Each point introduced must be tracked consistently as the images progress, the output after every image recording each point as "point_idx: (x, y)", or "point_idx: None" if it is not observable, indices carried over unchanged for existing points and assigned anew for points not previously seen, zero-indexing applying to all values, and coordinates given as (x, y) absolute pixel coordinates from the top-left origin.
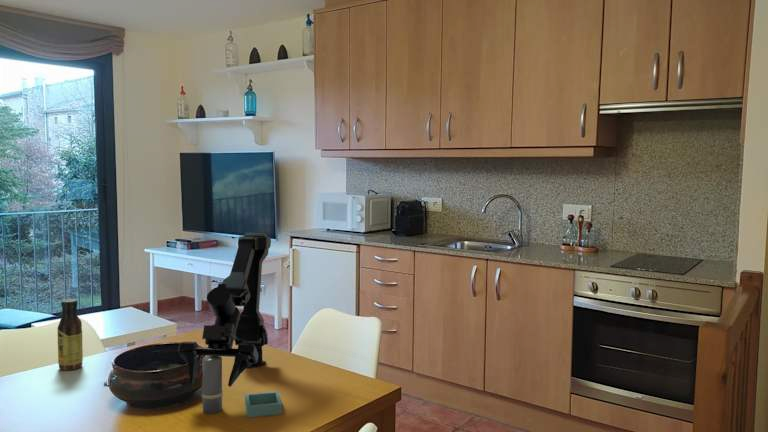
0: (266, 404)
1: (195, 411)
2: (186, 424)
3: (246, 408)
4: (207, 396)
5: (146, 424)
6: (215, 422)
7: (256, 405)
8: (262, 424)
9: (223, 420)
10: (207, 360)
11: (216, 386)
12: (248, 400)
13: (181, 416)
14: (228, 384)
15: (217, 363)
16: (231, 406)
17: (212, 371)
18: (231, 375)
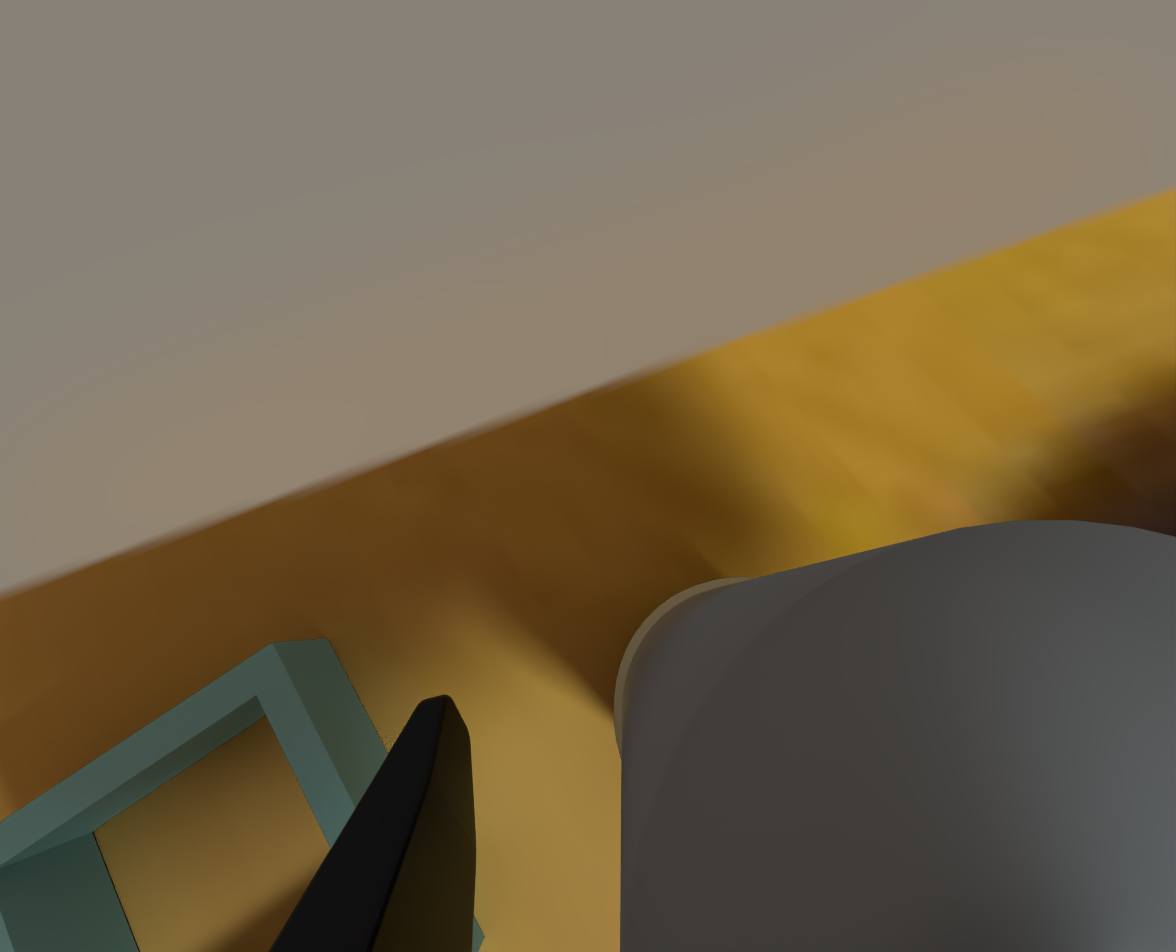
0: (102, 777)
1: None
2: (731, 359)
3: (360, 742)
4: (726, 580)
5: (1023, 258)
6: (536, 465)
7: (195, 713)
8: (158, 558)
9: (494, 519)
10: (1139, 682)
11: (642, 652)
12: (331, 820)
13: (879, 470)
14: (441, 697)
15: (655, 764)
16: (588, 832)
17: (723, 603)
18: (378, 838)
